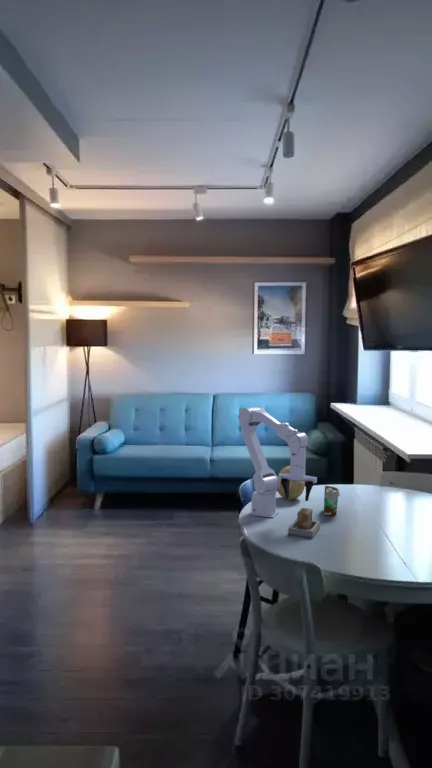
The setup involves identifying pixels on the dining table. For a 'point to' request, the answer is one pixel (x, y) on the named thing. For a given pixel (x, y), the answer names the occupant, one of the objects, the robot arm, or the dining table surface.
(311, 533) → the grey shallow tray
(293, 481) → the fossilized egg
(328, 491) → the food container
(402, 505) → the dining table surface
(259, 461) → the robot arm
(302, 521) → the brown block
